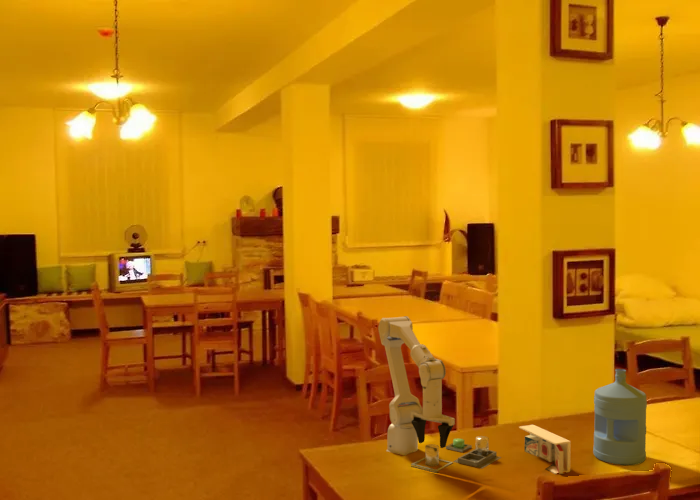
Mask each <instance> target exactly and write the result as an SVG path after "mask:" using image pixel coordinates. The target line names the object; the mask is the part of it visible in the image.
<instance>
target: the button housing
mask: <svg viewBox="0 0 700 500" xmlns="http://www.w3.org/2000/svg"><path fill="white" fill-rule="evenodd" d="M472 447H473V446H472V444H468V443H464V447H463V448H462V449H461V448H456V447H453V442H452V443H450V444H448V445H446V447H445V449H446V450H450V451H453V452H454V451H455V452H458V453H464V452H466V451H468V450H470V449H472Z"/></svg>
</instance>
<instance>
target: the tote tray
mask: <svg viewBox="0 0 700 500" xmlns="http://www.w3.org/2000/svg"><path fill="white" fill-rule="evenodd" d="M424 460H425V457H422V458H421V459H419V460H416V461H415V462H412V463H411V464H410V467H411V468H414V469H419V470H422V471H426V472H431V473H433V474H439V471H441V470H442V469H444V468H447V467H448V466H450V465H452V464H453V463H454V462H453V461H449V460H446V459H440V458H439V461H441V462H444V463H447V464H445V465H443V466H441V467H438V468H437V469H436V468H435V469H434V468H432V467H431V468H430V467H429V466H423V465H419V463H420V462H423V461H424Z"/></svg>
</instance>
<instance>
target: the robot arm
mask: <svg viewBox="0 0 700 500" xmlns="http://www.w3.org/2000/svg"><path fill="white" fill-rule="evenodd" d="M377 328H378V329H377V330H378V334H379V340H380V343H381V345H382V346H384V349H385V354H386V359H387V363H388V369H389V373H390V378H391V382H392V387H393V392H394V398H392V400H391V401H390V402H389V404H388V409H389V420H390V422H391V424H389V426H388V428H387V432H386V433H387V439H386V440H387V441H386V442H387V445H386V446H387V449H386V450H385V451H386V452H389V453H393V454H397V455H402V456H406V455H408V454H411V453H415V452H417V451H418V450H419V448H418V447H419V445H418V444H422V443H425V437H426V432H425V431H426V425H427V421H428V422H434V423H437V424H438V425H437V429H438V434H439V449H445V448H446V446H447V442H448V438H449V435H450V433H451V431H452V429H453V428H454V425H456V423H455V422H456V419H455V418H454V417H452V416H449V415H445V414H442V412H443V411H442V410H443V409H442V408H443V403H442V402H443V401H442V400H443V399H442V398H443V391H442V389H443V388H442V387H443V383H442V381H443V379H445V377H446V373H447V371H446V365H445V364H444V361H442V360H441V359H438V358H435V357H434V355H433V354H432V352H431V351H430V350H429V348H428V347H427V345H425V344H422V343H420V341H419V340H418V338H417V336H416V334H415V332H414V331H413V322H412V320H411V319H410V317H409V316H398V317H395V316H394V317H382V318H381V319H380V321H379V323H378V327H377ZM403 344H405V346H406V347H408V349H409V350H410V352H409V353H410V357H411V359H412V361H414V363H415V365H416V366H417V368H418V374H419V378H420V384H421V386H422V405H421V403H420V399H419V398H418V397H416V396H415V395H413V394H412V392H411V389H410V384H409V380H408V374H407V370H406V366H405V362H404V357H403V352H402V349H401V348H402V345H403Z"/></svg>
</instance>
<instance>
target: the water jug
mask: <svg viewBox="0 0 700 500" xmlns="http://www.w3.org/2000/svg"><path fill="white" fill-rule="evenodd" d="M614 371H615V375H614V377H615V378H614V379H615V381H614V382H612V383H609V384H607V385H604V386H600V387H598V388H596V389H595V390H594V395H593V396H594V397H593V398H594V399H593V404H594V405H593V406H594V407H593V408H594V422H593V423H594V425H593V426H594V427H593V428H594V432H593V447H592V448H593V450H592V453H593V455H594V456H595V458H596V459H598V460H599V461H603V462H605V463H608V464H612V463H613V464H614V465H618V464H620V466H634V465H639V464H642V463H643V462H644V461H646V457H647V452H646V442H647V441H646V440H647V439H646V438H647V437H646V435H647V422H646V421H647V407H648V405H647V404H648V402H647V394H646V393H645V392H644V391H642V390H640V389H638V388H637V387H634V386H633V385H631V384H628V383H627V381H626V380H627V379H626V378H627V375H626V372H627V370H626V369H624V368H616V369H614Z"/></svg>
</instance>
